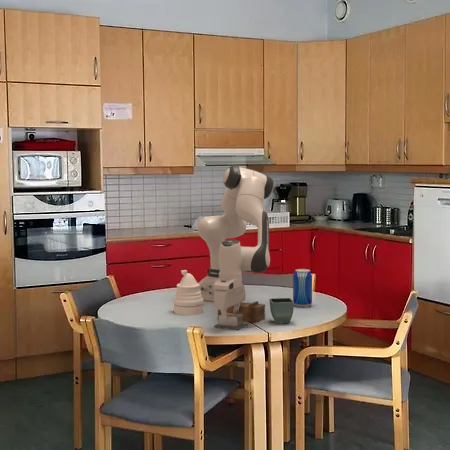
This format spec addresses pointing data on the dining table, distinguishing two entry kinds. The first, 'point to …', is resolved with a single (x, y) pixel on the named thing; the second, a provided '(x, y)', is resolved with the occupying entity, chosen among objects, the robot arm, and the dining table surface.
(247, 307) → the body
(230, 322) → the lever cap
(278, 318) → the flower pot
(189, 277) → the honey pot
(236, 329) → the mat
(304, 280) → the beer can
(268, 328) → the dining table surface
